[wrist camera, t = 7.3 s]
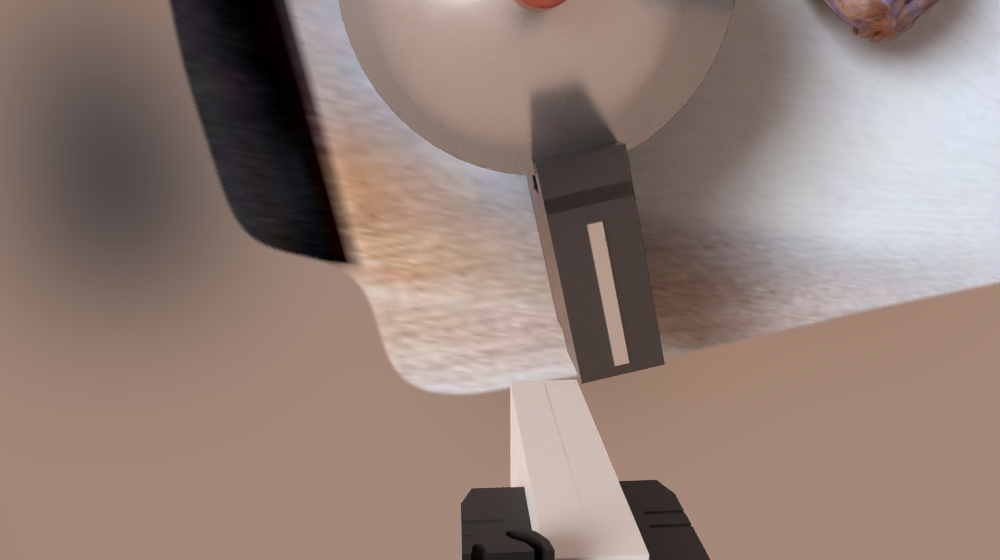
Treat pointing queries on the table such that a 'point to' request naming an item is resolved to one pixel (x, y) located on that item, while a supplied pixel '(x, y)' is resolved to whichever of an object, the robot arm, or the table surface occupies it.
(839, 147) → the table surface
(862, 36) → the skull
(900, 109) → the table surface
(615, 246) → the lid
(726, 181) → the table surface
